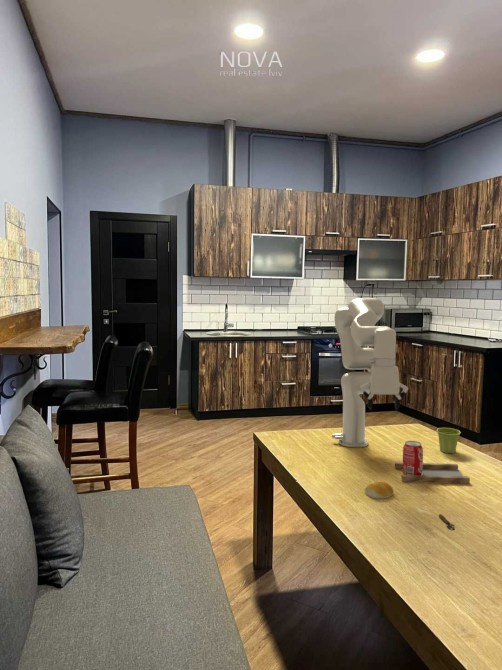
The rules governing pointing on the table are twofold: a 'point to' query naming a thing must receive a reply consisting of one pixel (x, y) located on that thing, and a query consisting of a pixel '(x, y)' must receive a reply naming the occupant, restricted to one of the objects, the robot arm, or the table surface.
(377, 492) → the bread roll
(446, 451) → the plant pot
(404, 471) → the soda can
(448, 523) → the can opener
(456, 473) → the pad
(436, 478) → the walnut rails
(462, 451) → the table surface
